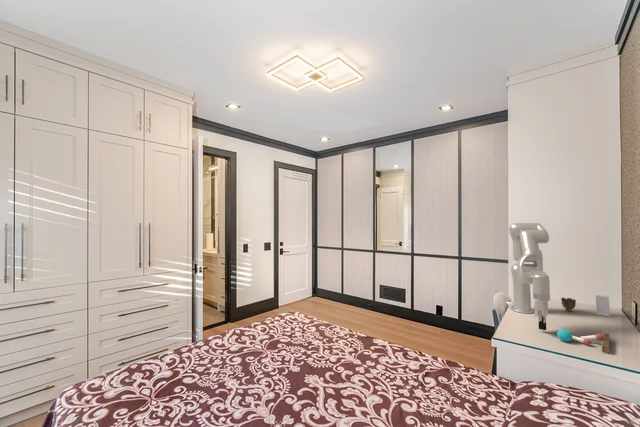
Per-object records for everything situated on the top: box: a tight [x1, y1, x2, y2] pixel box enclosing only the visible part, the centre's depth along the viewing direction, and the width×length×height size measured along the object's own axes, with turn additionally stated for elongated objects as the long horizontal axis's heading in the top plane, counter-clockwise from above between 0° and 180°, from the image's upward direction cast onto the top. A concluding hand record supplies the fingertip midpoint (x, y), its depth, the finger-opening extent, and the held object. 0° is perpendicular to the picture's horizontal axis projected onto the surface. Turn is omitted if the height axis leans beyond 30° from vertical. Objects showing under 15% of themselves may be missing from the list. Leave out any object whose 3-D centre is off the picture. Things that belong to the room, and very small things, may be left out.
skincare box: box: [595, 294, 611, 317], centre depth 181 cm, size 6×4×12 cm
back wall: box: [601, 332, 611, 354], centre depth 141 cm, size 2×20×3 cm, turn 133°
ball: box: [556, 328, 573, 343], centre depth 147 cm, size 6×6×6 cm
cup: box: [560, 297, 577, 313], centre depth 190 cm, size 8×7×8 cm
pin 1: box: [571, 335, 592, 346], centre depth 145 cm, size 3×3×9 cm
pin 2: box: [579, 333, 604, 341], centre depth 144 cm, size 3×3×9 cm
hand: (542, 329), depth 159 cm, fingers closed
